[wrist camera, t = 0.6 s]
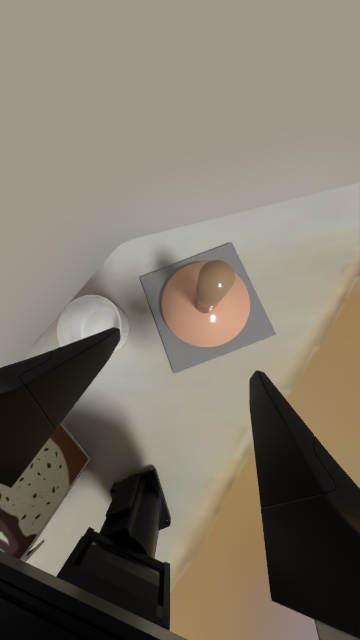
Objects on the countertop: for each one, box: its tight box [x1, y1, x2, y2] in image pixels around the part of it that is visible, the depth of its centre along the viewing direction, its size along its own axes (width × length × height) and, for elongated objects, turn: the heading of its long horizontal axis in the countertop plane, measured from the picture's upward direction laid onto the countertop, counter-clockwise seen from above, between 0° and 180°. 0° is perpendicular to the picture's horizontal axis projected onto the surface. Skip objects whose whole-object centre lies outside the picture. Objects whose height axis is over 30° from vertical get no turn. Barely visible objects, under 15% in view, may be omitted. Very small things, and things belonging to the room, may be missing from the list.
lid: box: [162, 260, 250, 347], centre depth 18 cm, size 13×13×10 cm
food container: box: [0, 422, 91, 562], centre depth 17 cm, size 12×6×10 cm, turn 47°
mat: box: [140, 242, 276, 373], centre depth 23 cm, size 16×16×1 cm
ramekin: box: [57, 295, 129, 352], centre depth 22 cm, size 9×9×4 cm
